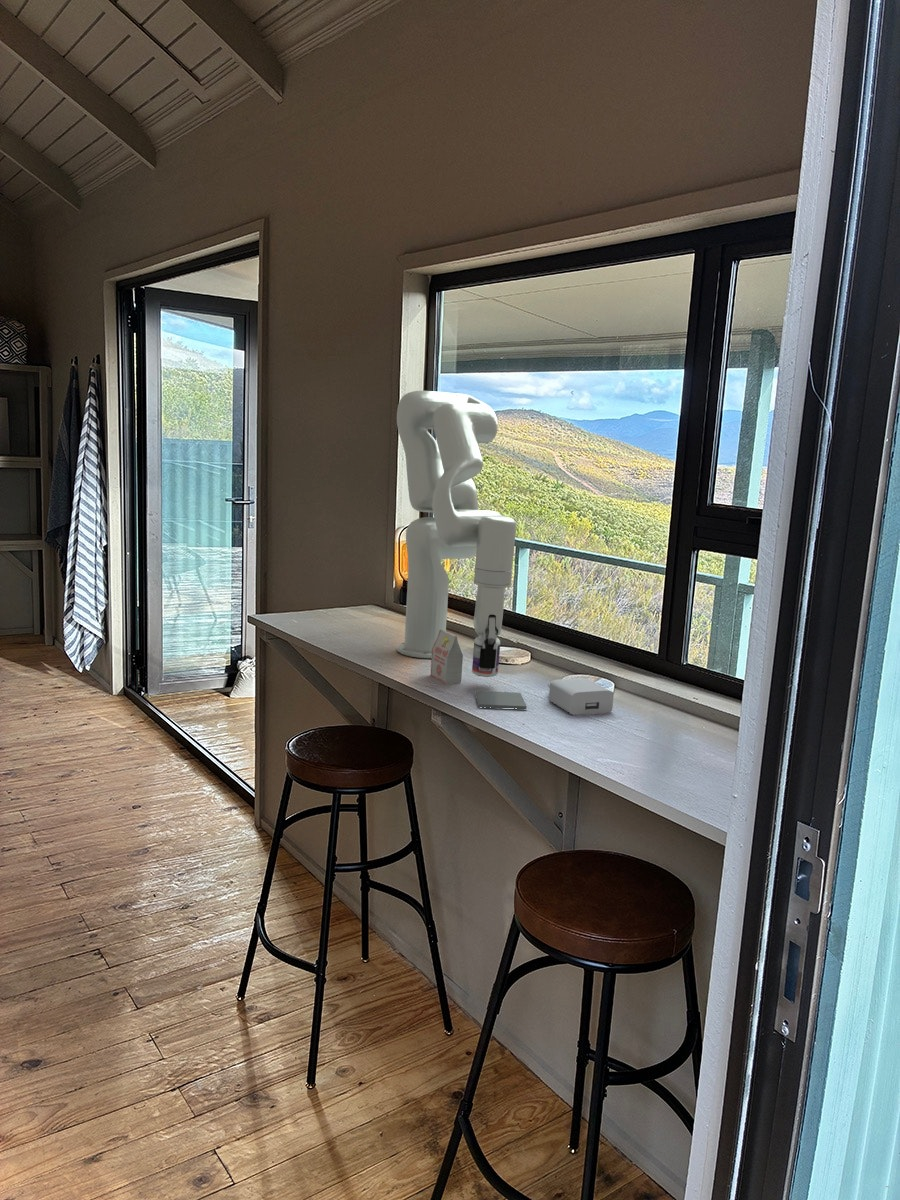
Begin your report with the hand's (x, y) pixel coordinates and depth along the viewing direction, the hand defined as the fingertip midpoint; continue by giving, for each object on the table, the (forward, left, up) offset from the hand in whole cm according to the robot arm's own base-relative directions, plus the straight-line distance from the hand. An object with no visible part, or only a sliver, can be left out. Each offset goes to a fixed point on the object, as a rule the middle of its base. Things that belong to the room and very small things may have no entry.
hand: (485, 662), depth 187 cm
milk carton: (-4, -8, -5) cm, 10 cm away
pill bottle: (0, 0, -2) cm, 2 cm away
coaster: (+11, +2, -5) cm, 12 cm away
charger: (+8, +17, -5) cm, 20 cm away
